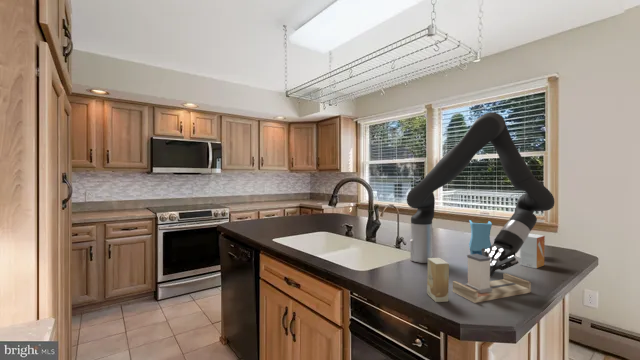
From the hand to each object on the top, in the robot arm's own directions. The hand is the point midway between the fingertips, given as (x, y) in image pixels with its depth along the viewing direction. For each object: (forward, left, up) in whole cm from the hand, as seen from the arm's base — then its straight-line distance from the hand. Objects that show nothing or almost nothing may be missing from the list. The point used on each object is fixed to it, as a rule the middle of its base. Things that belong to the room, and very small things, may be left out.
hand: (484, 276), depth 96 cm
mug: (+27, +55, -6) cm, 62 cm away
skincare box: (-15, -9, -6) cm, 18 cm away
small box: (+24, +40, -6) cm, 47 cm away
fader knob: (-2, -2, -4) cm, 5 cm away
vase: (+2, +25, -6) cm, 26 cm away
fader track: (+2, +2, -6) cm, 7 cm away
